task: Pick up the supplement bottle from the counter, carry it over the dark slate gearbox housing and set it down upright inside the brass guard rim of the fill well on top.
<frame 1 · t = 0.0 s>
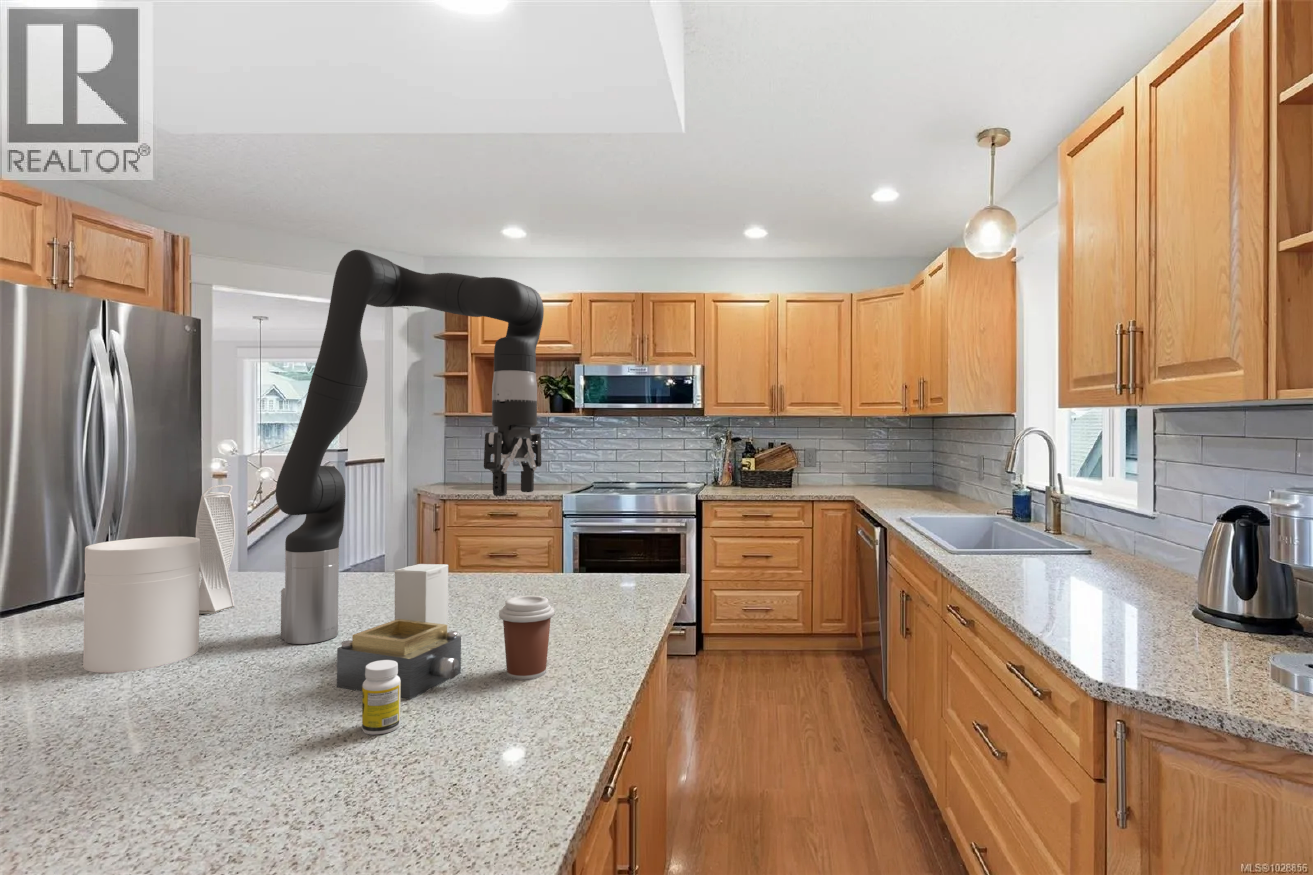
hand: (513, 493, 112), 29 cm above the countertop, fingers open, 8 cm apart
supplement bottle: (381, 729, 87), on the countertop
skyscraper: (213, 610, 147), on the countertop
canister: (143, 658, 115), on the countertop
gearbox housing: (400, 679, 104), on the countertop
coffee cup: (526, 674, 108), on the countertop
skincare box: (421, 654, 118), on the countertop
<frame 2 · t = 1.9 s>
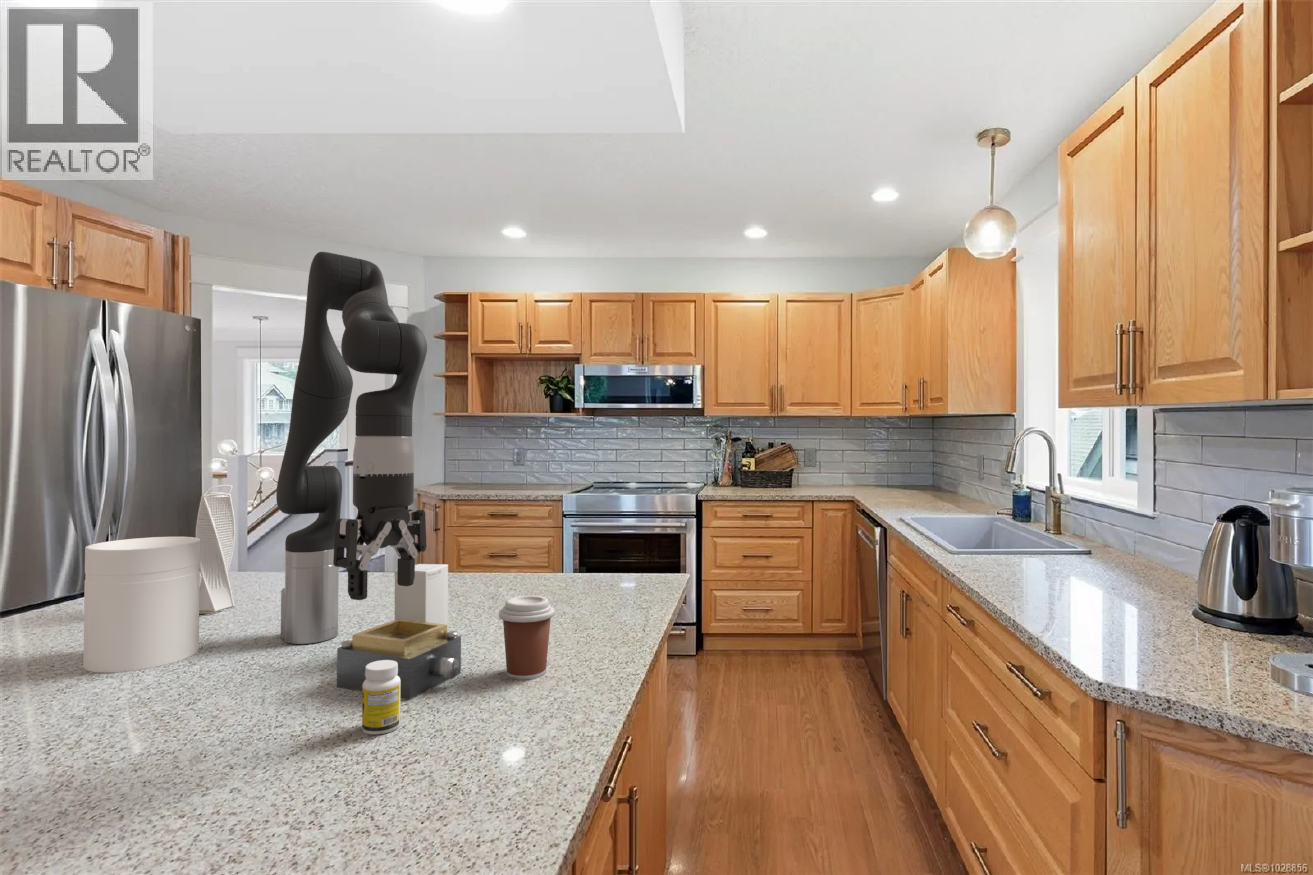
hand: (382, 592, 87), 18 cm above the countertop, fingers open, 8 cm apart
nothing on the countertop moved.
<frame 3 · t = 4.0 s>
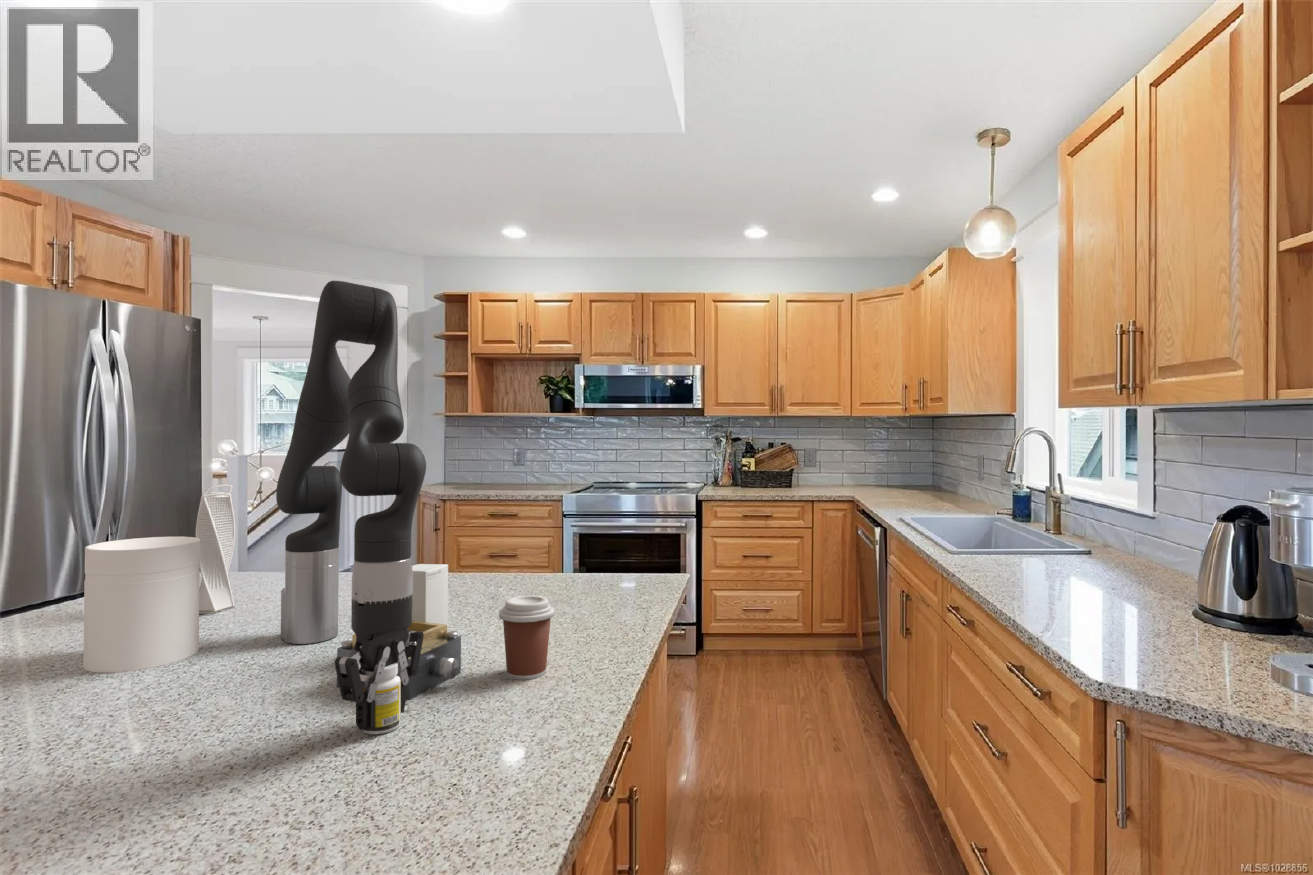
hand: (381, 720, 87), 1 cm above the countertop, fingers closed on supplement bottle, 4 cm apart
supplement bottle: (381, 729, 87), on the countertop, touching gripper
everything else where it was.
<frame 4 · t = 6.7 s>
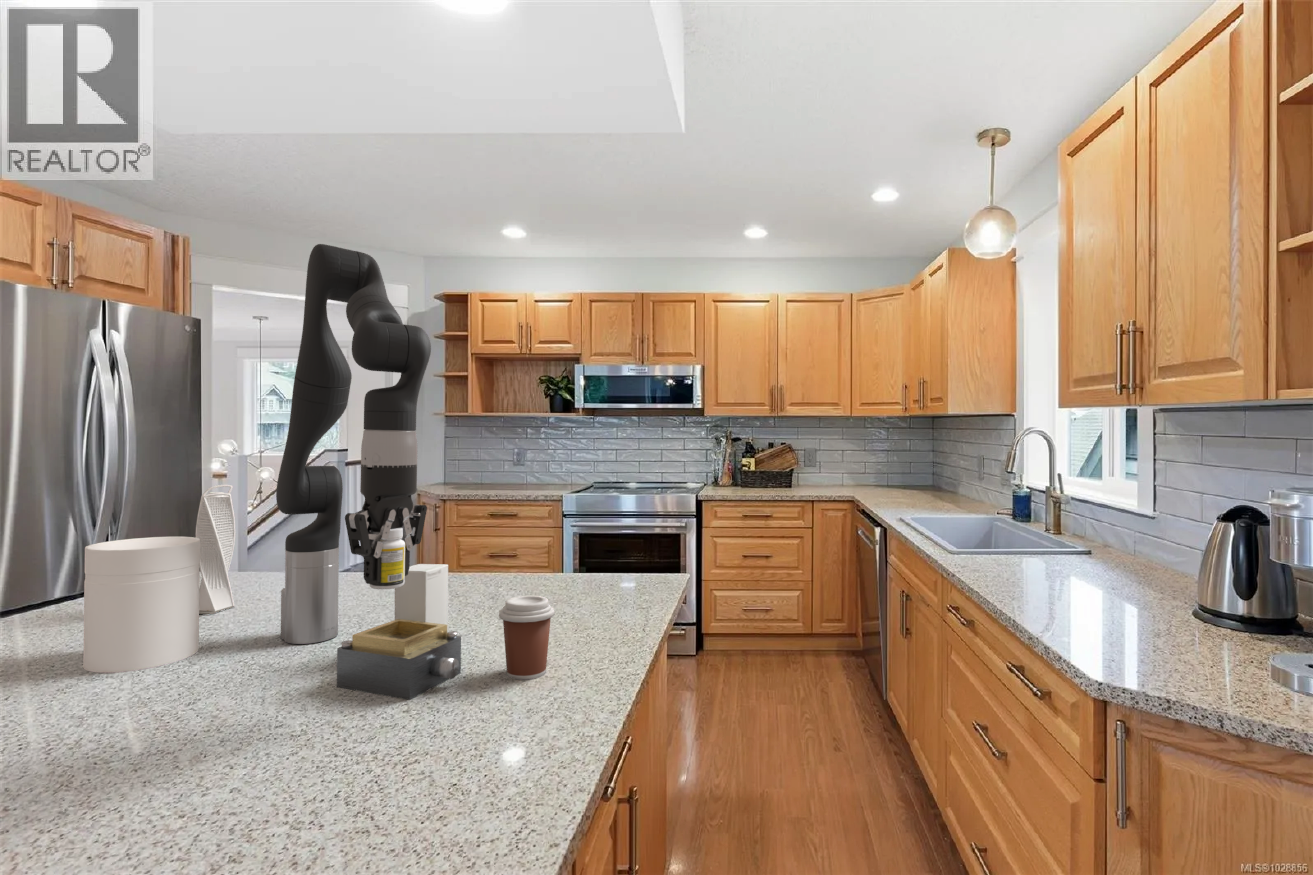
hand: (387, 579, 94), 18 cm above the countertop, fingers closed on supplement bottle, 4 cm apart
supplement bottle: (387, 587, 94), point 17 cm above the countertop, touching gripper
everything else where it was.
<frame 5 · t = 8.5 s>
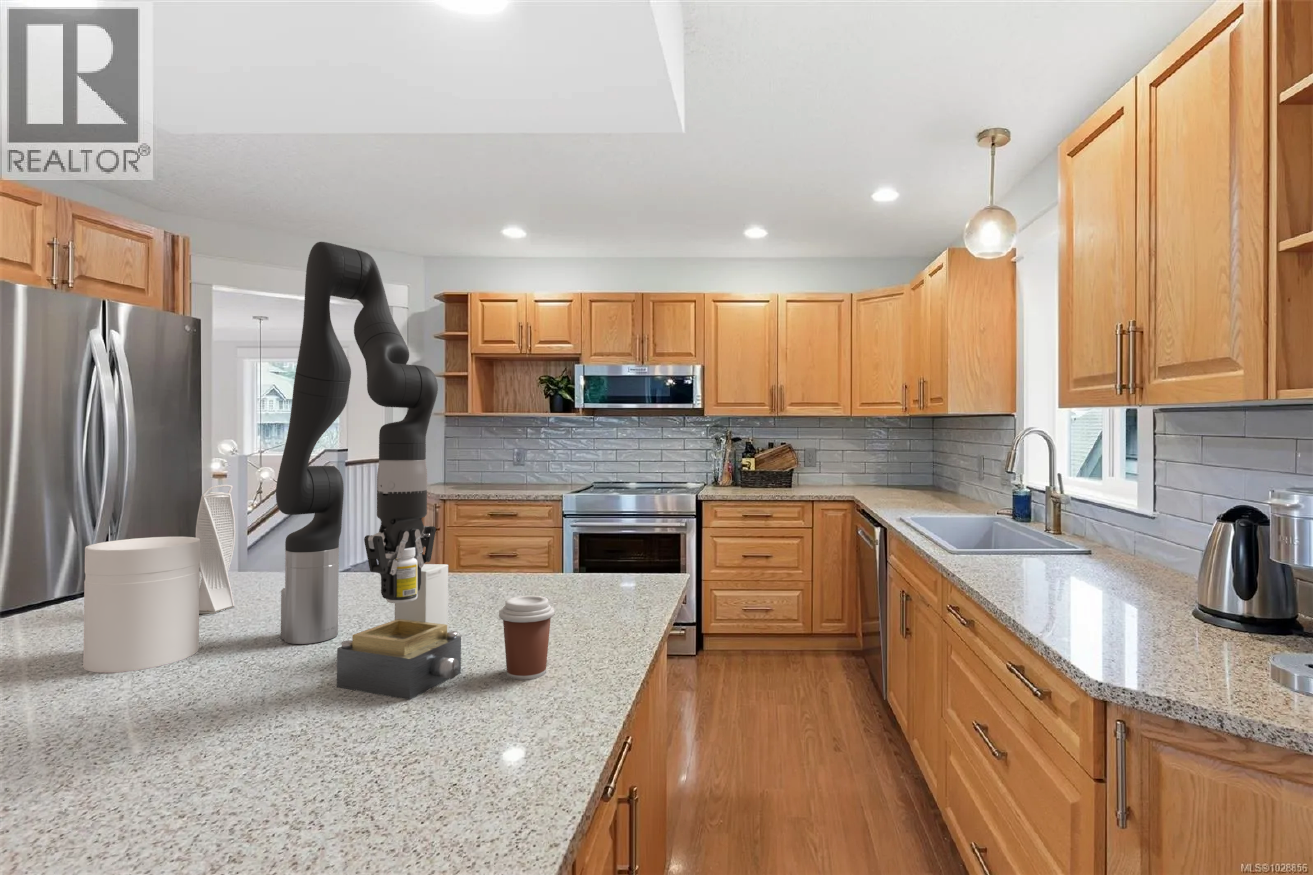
hand: (401, 594, 105), 14 cm above the countertop, fingers closed on supplement bottle, 4 cm apart
supplement bottle: (401, 601, 105), point 12 cm above the countertop, touching gripper
everything else where it was.
when the fingers open (9 cm above the countertop, at t = 9.8 s): supplement bottle drops 2 cm, resting on gearbox housing.
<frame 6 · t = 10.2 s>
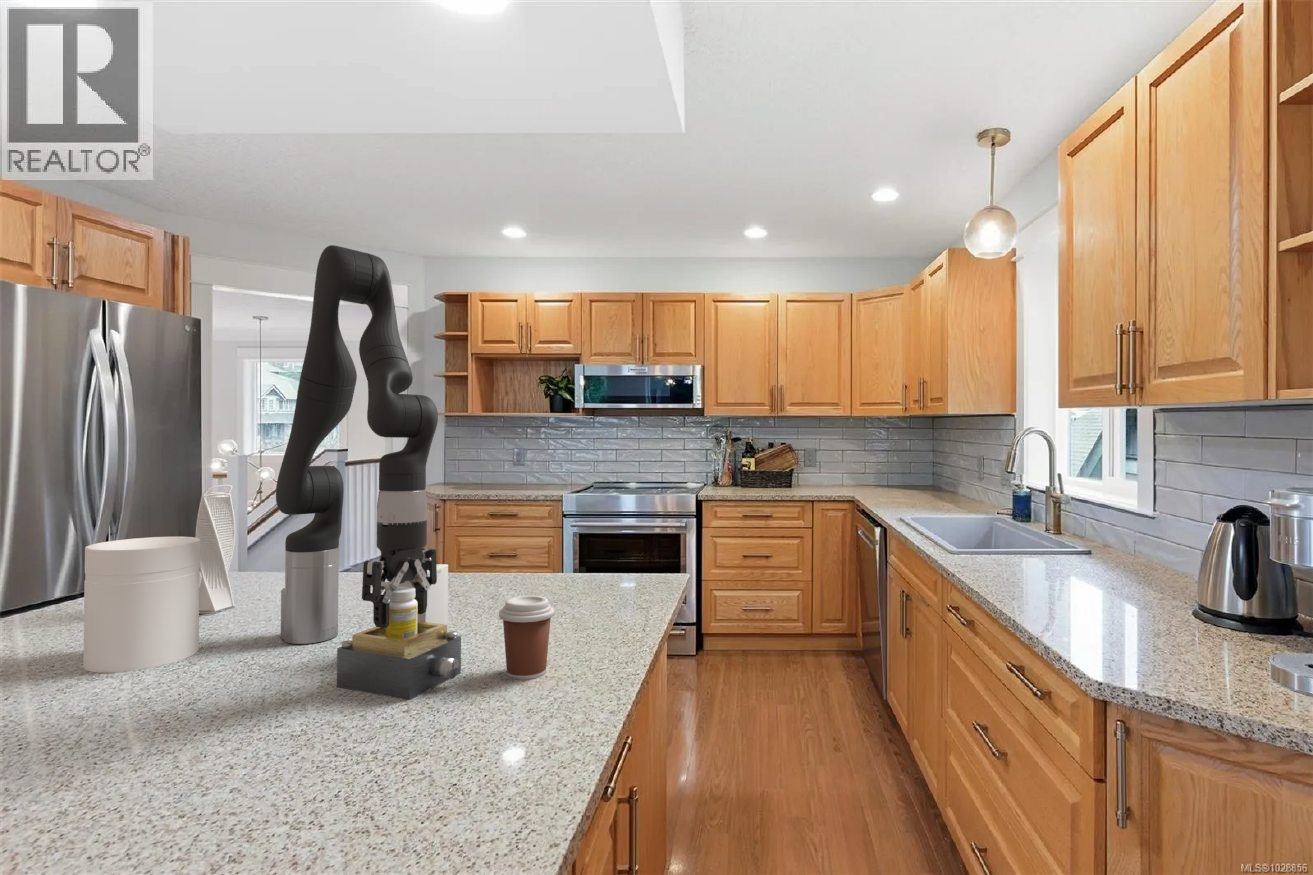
hand: (401, 619, 105), 10 cm above the countertop, fingers open, 8 cm apart
supplement bottle: (401, 642, 105), point 6 cm above the countertop, touching gearbox housing
everything else where it was.
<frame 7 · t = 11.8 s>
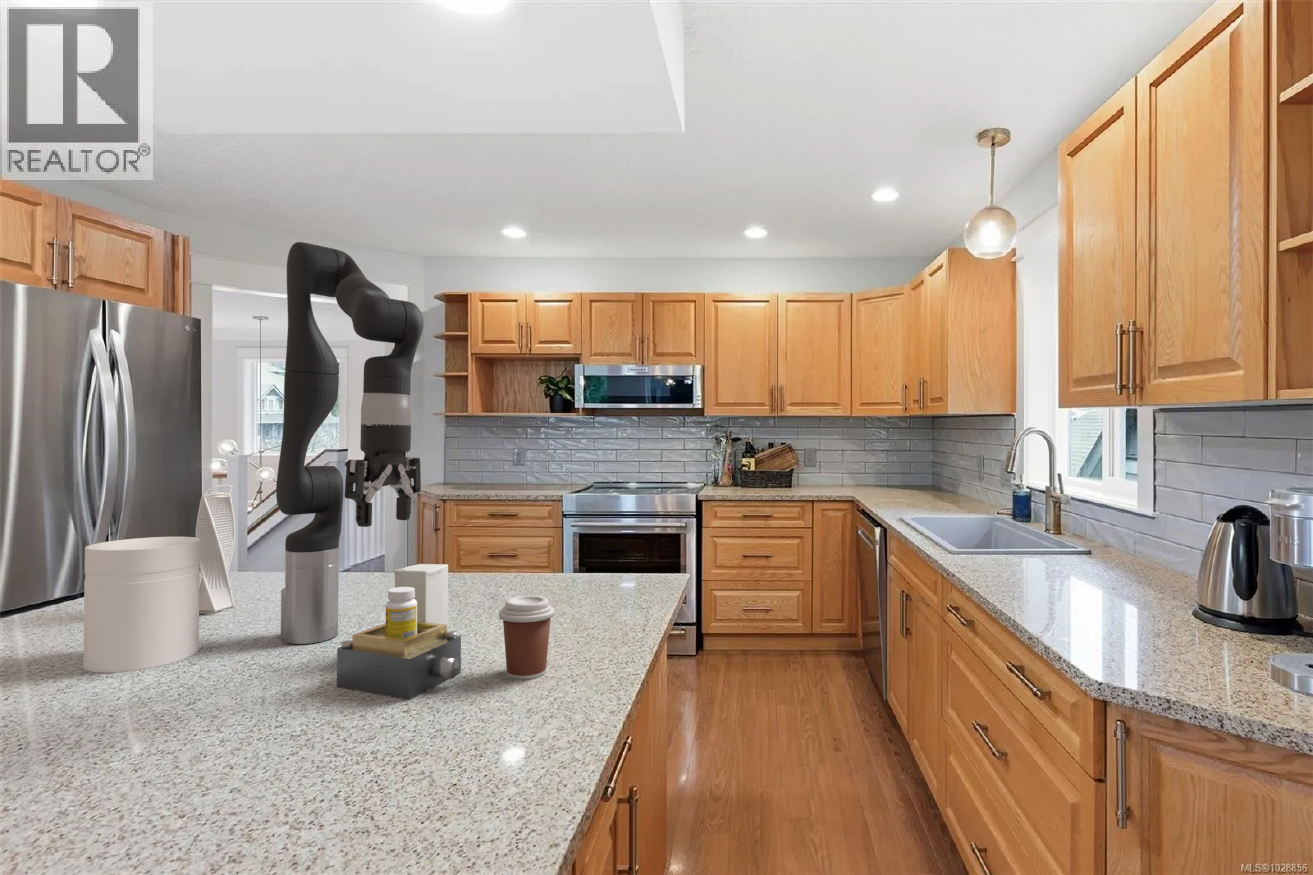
hand: (384, 523, 105), 25 cm above the countertop, fingers open, 8 cm apart
nothing on the countertop moved.
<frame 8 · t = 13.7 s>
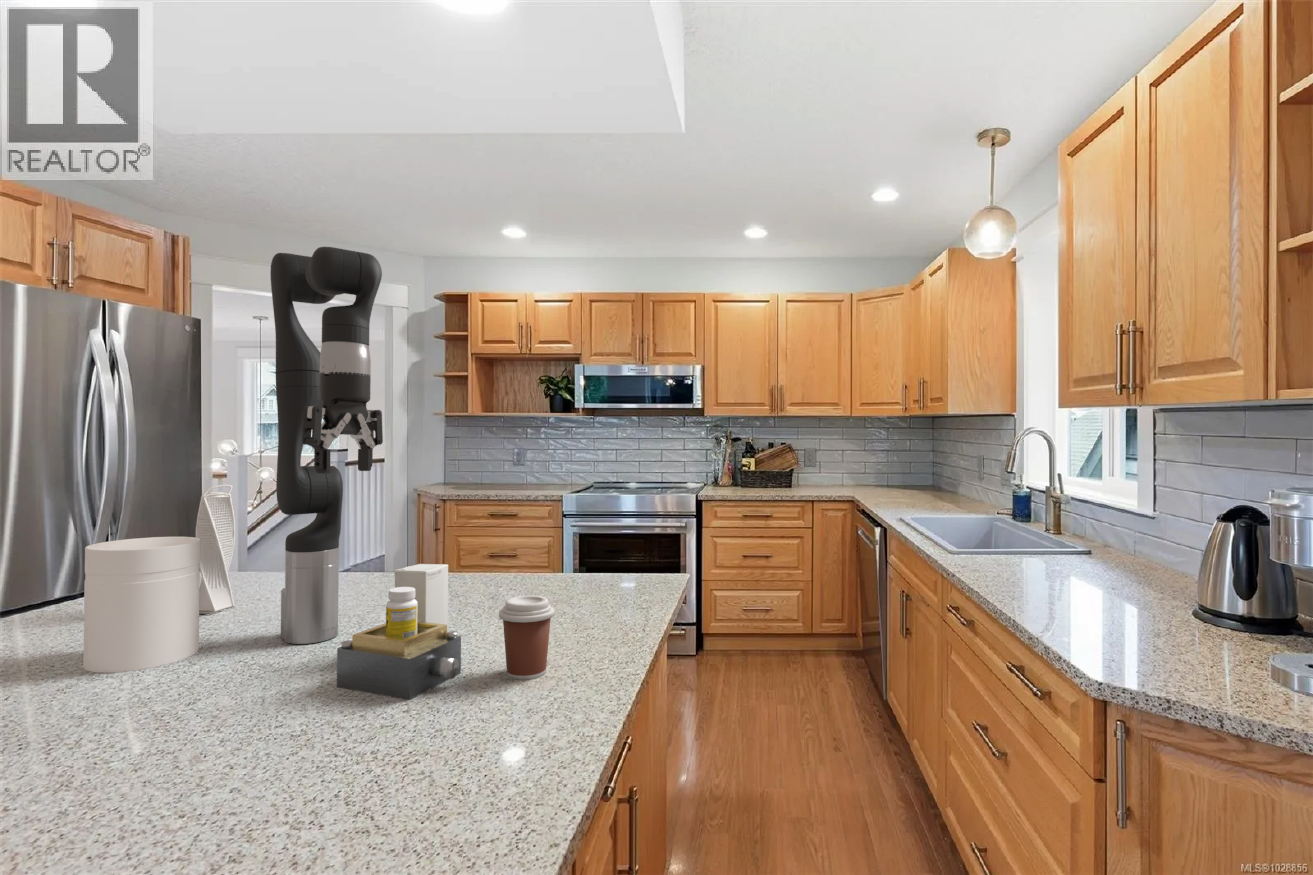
hand: (344, 472, 106), 33 cm above the countertop, fingers open, 8 cm apart
nothing on the countertop moved.
at the end: supplement bottle 0.2 cm off-centre on the gearbox housing, point 5.8 cm above the gearbox housing's base; supplement bottle tilted 0°; the gripper is holding nothing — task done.
